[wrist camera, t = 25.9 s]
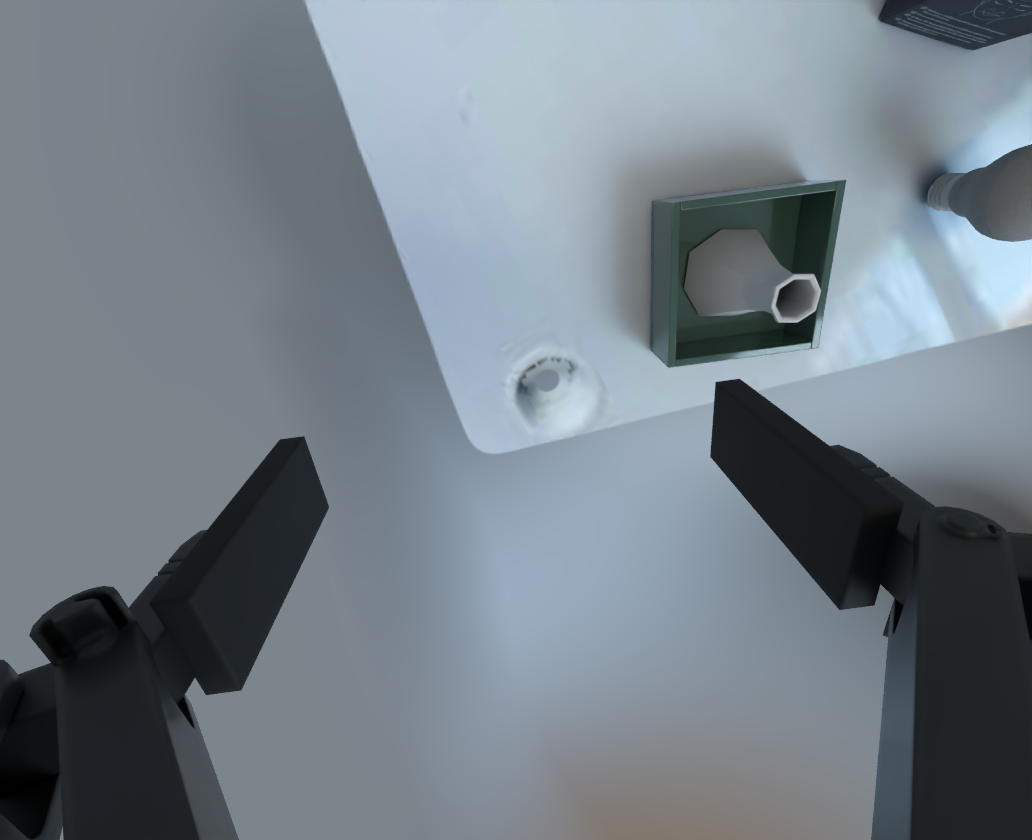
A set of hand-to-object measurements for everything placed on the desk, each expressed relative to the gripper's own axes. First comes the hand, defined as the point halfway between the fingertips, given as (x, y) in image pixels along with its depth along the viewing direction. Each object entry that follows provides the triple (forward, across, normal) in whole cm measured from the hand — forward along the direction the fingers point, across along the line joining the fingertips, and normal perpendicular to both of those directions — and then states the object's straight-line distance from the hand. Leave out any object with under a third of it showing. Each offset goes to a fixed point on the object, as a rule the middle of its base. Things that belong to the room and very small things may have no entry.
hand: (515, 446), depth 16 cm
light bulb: (+27, +36, +3) cm, 45 cm away
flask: (+26, +19, -1) cm, 32 cm away
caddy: (+27, +19, -1) cm, 33 cm away
